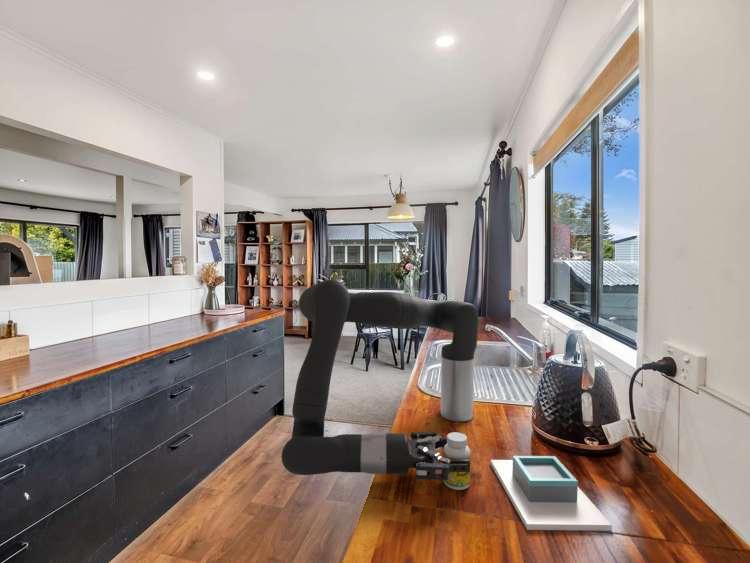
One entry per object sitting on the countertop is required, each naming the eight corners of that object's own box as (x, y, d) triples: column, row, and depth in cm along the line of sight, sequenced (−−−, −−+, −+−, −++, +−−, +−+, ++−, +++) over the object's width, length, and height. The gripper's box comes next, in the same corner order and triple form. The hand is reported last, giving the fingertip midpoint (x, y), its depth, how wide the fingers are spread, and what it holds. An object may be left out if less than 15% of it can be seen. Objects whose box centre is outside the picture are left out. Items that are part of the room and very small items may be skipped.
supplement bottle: (456, 472, 78) (457, 428, 78) (476, 485, 74) (476, 438, 73) (437, 480, 75) (438, 434, 75) (456, 494, 71) (457, 445, 70)
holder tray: (490, 464, 81) (491, 442, 81) (554, 464, 81) (554, 442, 81) (527, 529, 61) (527, 500, 61) (611, 530, 61) (612, 501, 61)
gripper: (384, 453, 67) (474, 454, 67) (383, 419, 81) (457, 420, 81) (384, 493, 67) (473, 494, 67) (383, 453, 82) (456, 453, 81)
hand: (464, 453), depth 74 cm, fingers open, 8 cm apart
